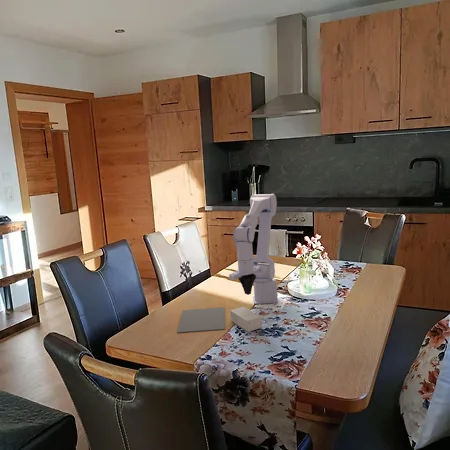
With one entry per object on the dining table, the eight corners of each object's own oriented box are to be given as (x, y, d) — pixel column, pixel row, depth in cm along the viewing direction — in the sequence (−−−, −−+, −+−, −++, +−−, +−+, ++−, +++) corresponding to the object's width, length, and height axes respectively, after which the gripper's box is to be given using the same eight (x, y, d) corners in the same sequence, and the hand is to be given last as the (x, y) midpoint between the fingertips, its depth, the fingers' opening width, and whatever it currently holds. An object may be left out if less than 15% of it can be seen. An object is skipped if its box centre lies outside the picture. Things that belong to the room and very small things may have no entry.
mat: (224, 307, 168) (224, 307, 168) (224, 329, 148) (224, 328, 148) (182, 311, 168) (182, 310, 168) (177, 332, 148) (177, 332, 148)
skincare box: (230, 321, 155) (247, 332, 144) (230, 310, 154) (246, 320, 143) (245, 317, 157) (262, 327, 147) (244, 306, 157) (261, 316, 146)
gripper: (253, 252, 161) (255, 286, 163) (223, 261, 153) (225, 296, 155) (265, 255, 155) (267, 290, 158) (234, 264, 147) (237, 301, 150)
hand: (247, 293), depth 156 cm, fingers closed
